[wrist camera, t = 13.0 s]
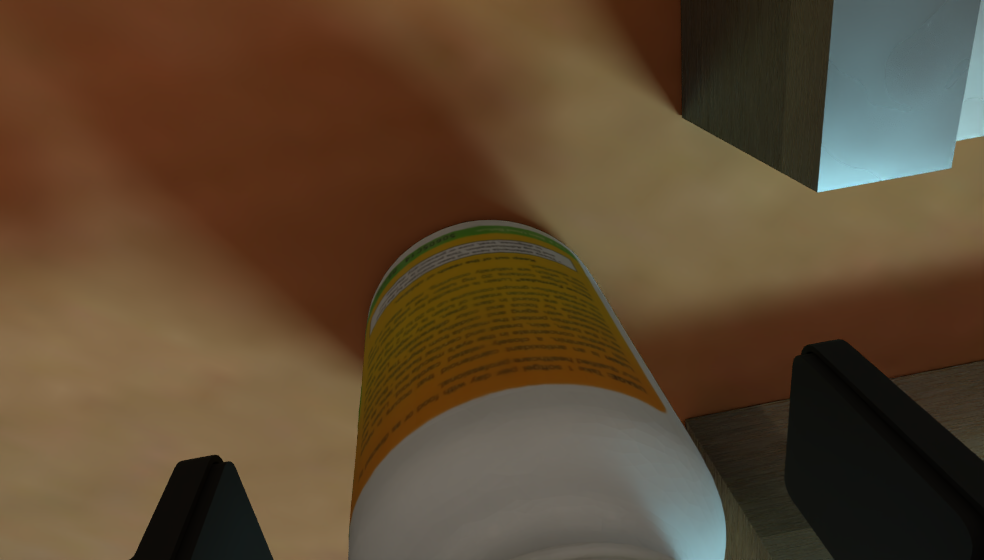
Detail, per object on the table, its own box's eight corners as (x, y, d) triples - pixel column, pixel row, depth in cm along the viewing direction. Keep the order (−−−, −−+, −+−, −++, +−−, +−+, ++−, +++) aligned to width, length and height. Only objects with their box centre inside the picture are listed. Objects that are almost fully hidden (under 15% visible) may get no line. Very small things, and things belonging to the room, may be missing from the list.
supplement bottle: (315, 308, 15) (195, 810, 6) (512, 163, 14) (703, 507, 5) (460, 452, 17) (525, 967, 8) (637, 335, 16) (917, 773, 7)
